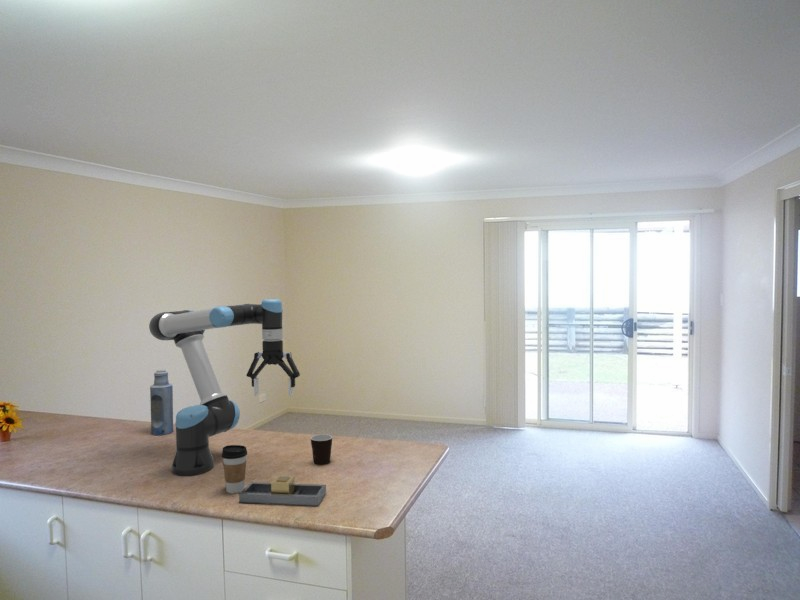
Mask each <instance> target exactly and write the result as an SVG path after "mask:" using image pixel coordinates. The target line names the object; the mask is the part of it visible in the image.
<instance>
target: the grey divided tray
mask: <svg viewBox="0 0 800 600" xmlns="http://www.w3.org/2000/svg"><path fill="white" fill-rule="evenodd" d="M326 495H327V485H326V484H313V483H312V484H311V483H310V484H309V483H295V494H271V482H262V481H260V482H259V481H258V482H257V481H255V482H254V481H250V482H249V484H247V486H245V487H244V490H243V491H241V492H239V494H238V503H240V504H254V505H256V504H258V505H259V504H260V505H279V506H280V505H282V506H301V507H303V506H304V507H305V506H306V507H319V506H320V504H321V502H322V501H323V499H324V498H325V496H326Z"/></svg>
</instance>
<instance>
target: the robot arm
mask: <svg viewBox="0 0 800 600" xmlns="http://www.w3.org/2000/svg"><path fill="white" fill-rule="evenodd" d="M253 324H256V325H258V324H259V325H261V330H262V331H261V335H262V336H261V338H262V340H263V341H262V343H261V345H262V346H261V347H262V352H259V351H257V352H254V355H253V356H254V357H253V360H252V361H251V364H250V367H249V369H248V370H247V373H246V377H248V378H251V387H253V396H254V397H256V396H259V394H260V388H259V387H260V385H259V377H257V376H258V375H259V374H260V373H261V372H262V371H263V369H264V368H265V367H266V366H267V365H270V366H271V365H274V366H275V365H278V366H279V367H280V368H281V369H282V370H283V371H284V372H285V374H286V375H287V376H288V377H289V378H288V397H292V396H294V388H295V386H296V378H297V379H298V377H300V376H301V373H300V371H299V370H298V368H297V365H296V364H295V361H294V359H293V357H292V352H284V347H283V346H284V345H283V344H284V341H283V337H284V336H283V304H282V301H281V299H276V298H272V299H271V298H269V299H268V298H267V299H262V300H261V304H255V303H242V304H237V305H219V306H216V307H212V308H206V309H201V310H188V309H184V310H179V311H175V310H174V311H163V312H159V313H156V314H155V315H154V316H153V317H152V318H151V319H150V321H149V324H148V325H149V326H148V329H149V332H150V334H151V335H152V336H153V337H154V338H155V339H157V340H158V341H159V340H160V341H173V342H174V344H175V346H176V347H177V348H179V349H180V350H181V352H182V354H183V357H184V360H185V362H186V365H187V367H188V370H189V373H190V375H191V378H192V380H193V384H194V385H195V386H194V387H195V389H196V391H197V393H198V396H199V399H200V403H199V404H196V405H195V404H194V405H191V406H187V407H183V408H182V409H179V411H178V412H177V413H176V414H175V423H174V424H175V425H174V426H175V438H176V439H175V441H176V443H175V444H176V452H175V455H174V458H173V461H172V464H171V471H172V474H173V475H175V476H176V475H177V476H183V477H184V476H195V475H200V474H201V475H202V474H203V473H207V472H209V471H211V470H213V468H214V467H215V460H214V456H213V455H212V451H211V449H210V447H209V446H210V444H209V443H210V441H209V438H210V437H213V436H216V435H220V434H221V433H227V432H228V431H229V430H232V429H234V428H235V427H236V426H237V424H238V423H239V420H240V415H241V414H240V408H239V405H238V404H237V403H236V402H235V401H233V400H230V399H229V397H228V395H227V394H225V393H223V392H222V390H221V387H220V384H219V381H218V379H217V376H216V374H215V371H214V369H213V367H212V364H211V361H210V359H209V356H208V353H207V351H206V348H205V346H204V343H203V339H204V338H205V335H204V334H205V331H206V330H211V329H219V328H226V327H234V326H235V327H236V326H243V325H244V326H245V325H253ZM261 358H262V359H263V361H262V362H261V364H259V366H258V367H257V365H258V363H259V361H260V359H261ZM284 358H285V359H286V361H287V363H288V364H287V363H286V362H285V361H284ZM288 365H289V367H290V368H289V367H288ZM256 367H257V369H256Z"/></svg>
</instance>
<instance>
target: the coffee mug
mask: <svg viewBox="0 0 800 600" xmlns="http://www.w3.org/2000/svg"><path fill="white" fill-rule="evenodd" d="M310 443H311V444H310V445H311V452H312V460H313V461H312V462H313V464H314V465H316V466H325V465H328V464H330V463H331V458H332V456H331V455H332V447H333V446H332V445H333V436H332V435H330V434H328V433H326V434H325V433H322V434H315V435H312V436H311V437H310Z"/></svg>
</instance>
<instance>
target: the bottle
mask: <svg viewBox="0 0 800 600" xmlns="http://www.w3.org/2000/svg"><path fill="white" fill-rule="evenodd" d="M153 376H154V380H153V384H152V385H150V387H149V389H150V391H149V392H150V394H149V395H150V396H149V398H150V400H149V401H150V421H151V422H150V423H151V424H150V427H151V428H150V429H151V433H150V434H151V435H153V436H163V435H164V436H165V435H169V434H171V433H173V432H174V406H173V405H174V398H173V396H174V395H173V392H174V391H173V384H172V383H170V382H169V372H168V371H167V370H166V369H157V370H156V371H155V372H154V373H153Z"/></svg>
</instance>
